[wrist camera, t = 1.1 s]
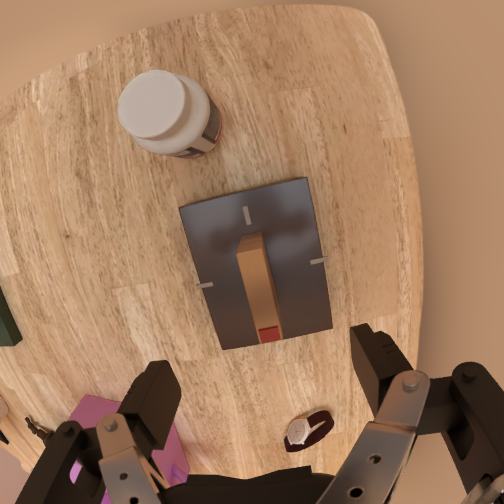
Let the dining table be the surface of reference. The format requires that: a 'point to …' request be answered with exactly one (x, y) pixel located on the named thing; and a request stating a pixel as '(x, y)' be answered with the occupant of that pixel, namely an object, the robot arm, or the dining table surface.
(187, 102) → the pill bottle
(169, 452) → the teapot
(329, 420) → the watch
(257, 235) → the handle
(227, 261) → the panel
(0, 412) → the vase
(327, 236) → the dining table surface
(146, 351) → the dining table surface
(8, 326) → the switch box
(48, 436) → the faucet
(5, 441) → the cell phone
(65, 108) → the dining table surface
